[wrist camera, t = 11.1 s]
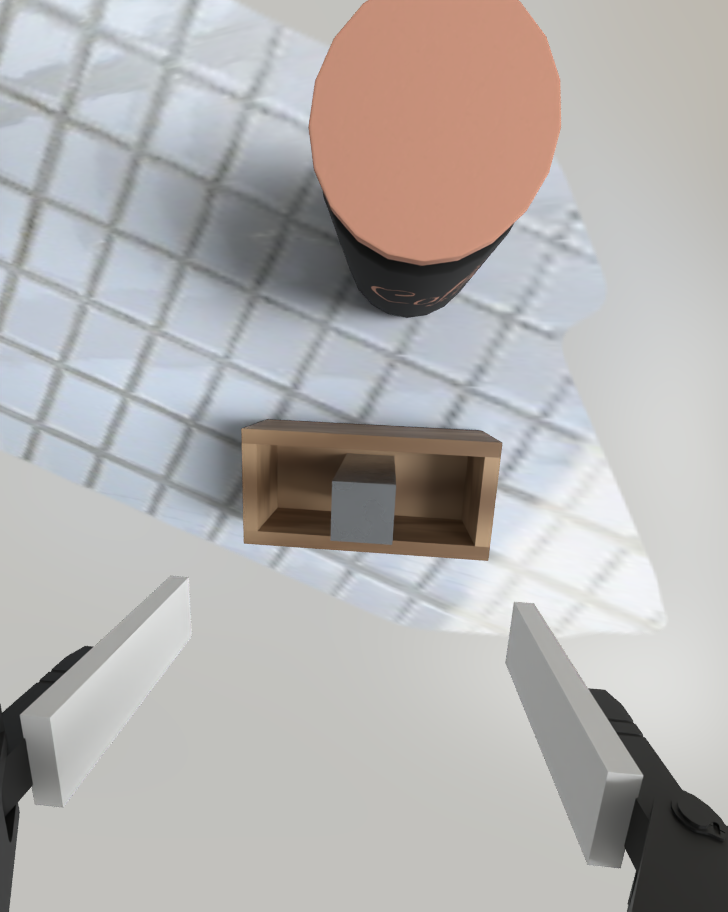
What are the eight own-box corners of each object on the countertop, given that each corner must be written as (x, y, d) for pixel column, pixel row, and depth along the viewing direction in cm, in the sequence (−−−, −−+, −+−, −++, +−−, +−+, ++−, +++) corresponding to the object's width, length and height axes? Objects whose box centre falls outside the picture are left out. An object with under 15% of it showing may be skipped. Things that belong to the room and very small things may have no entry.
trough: (267, 419, 38) (241, 428, 31) (481, 430, 36) (502, 442, 30) (268, 515, 40) (243, 543, 33) (471, 528, 38) (488, 560, 32)
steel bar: (347, 453, 37) (332, 480, 27) (394, 455, 37) (396, 484, 27) (345, 498, 38) (330, 540, 28) (391, 501, 38) (392, 544, 28)
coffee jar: (367, 334, 35) (347, 293, 18) (334, 211, 33) (274, 28, 16) (483, 299, 34) (584, 217, 17) (456, 169, 32) (537, -79, 15)
